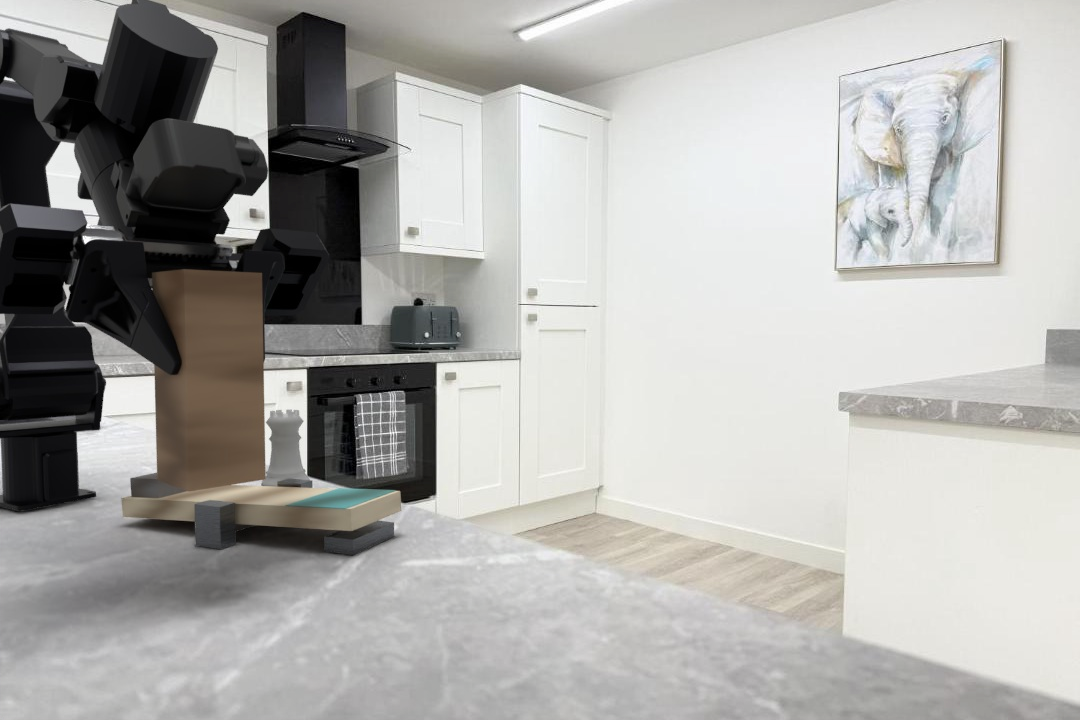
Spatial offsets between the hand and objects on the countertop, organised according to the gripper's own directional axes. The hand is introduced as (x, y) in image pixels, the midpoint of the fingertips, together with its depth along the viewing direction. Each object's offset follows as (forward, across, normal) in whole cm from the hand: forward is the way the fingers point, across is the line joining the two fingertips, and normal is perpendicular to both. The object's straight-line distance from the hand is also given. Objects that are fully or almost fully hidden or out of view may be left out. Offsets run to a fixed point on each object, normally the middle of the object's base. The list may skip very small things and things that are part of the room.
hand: (219, 367), depth 43 cm
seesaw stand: (+4, +10, +15) cm, 19 cm away
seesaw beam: (0, +9, +18) cm, 20 cm away
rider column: (+4, 0, +6) cm, 7 cm away
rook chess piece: (-5, +15, +25) cm, 29 cm away
